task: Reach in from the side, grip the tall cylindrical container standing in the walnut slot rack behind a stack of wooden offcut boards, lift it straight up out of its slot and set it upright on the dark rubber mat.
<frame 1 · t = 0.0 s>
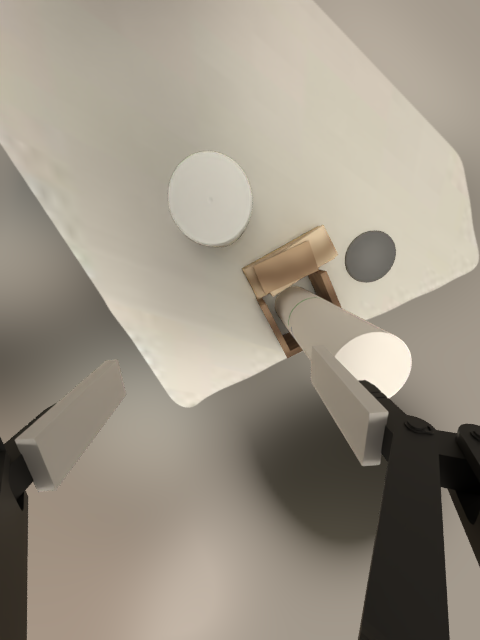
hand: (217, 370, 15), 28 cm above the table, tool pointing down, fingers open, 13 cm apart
cylindrical container: (292, 304, 43), resting in offcut rack
offcut rack: (297, 288, 42), on the table
supplement tub: (218, 218, 38), on the table
rubber mat: (369, 257, 41), on the table
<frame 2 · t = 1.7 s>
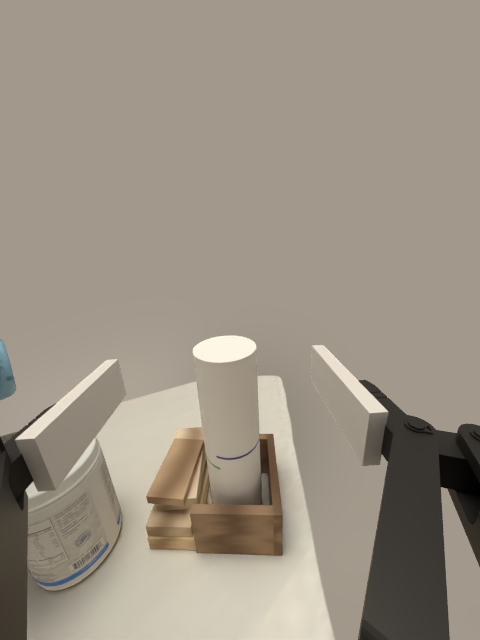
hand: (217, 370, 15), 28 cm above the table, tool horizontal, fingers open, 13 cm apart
cylindrical container: (237, 504, 33), resting in offcut rack
offcut rack: (222, 488, 35), on the table
supplement tub: (83, 543, 29), on the table
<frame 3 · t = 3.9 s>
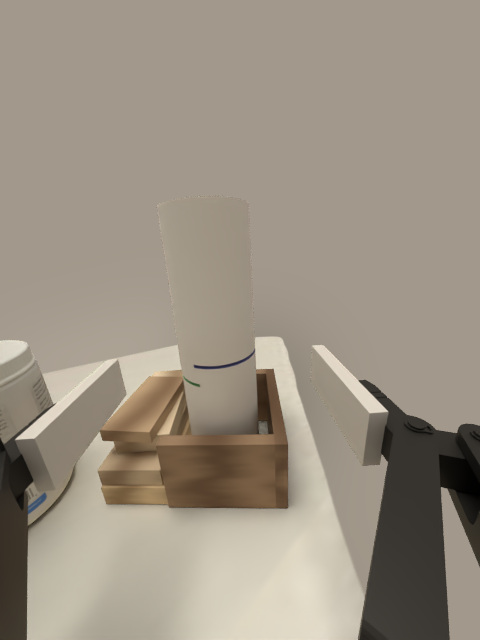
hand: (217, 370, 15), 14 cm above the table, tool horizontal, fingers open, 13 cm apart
cylindrical container: (227, 453, 25), resting in offcut rack
offcut rack: (209, 437, 27), on the table
supplement tub: (17, 499, 22), on the table
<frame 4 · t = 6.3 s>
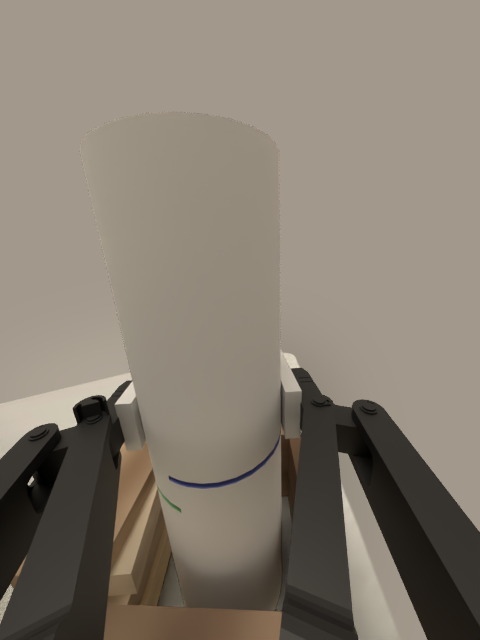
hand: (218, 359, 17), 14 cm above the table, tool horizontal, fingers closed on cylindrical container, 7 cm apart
cylindrical container: (232, 566, 16), resting in offcut rack, touching gripper
offcut rack: (203, 530, 18), on the table
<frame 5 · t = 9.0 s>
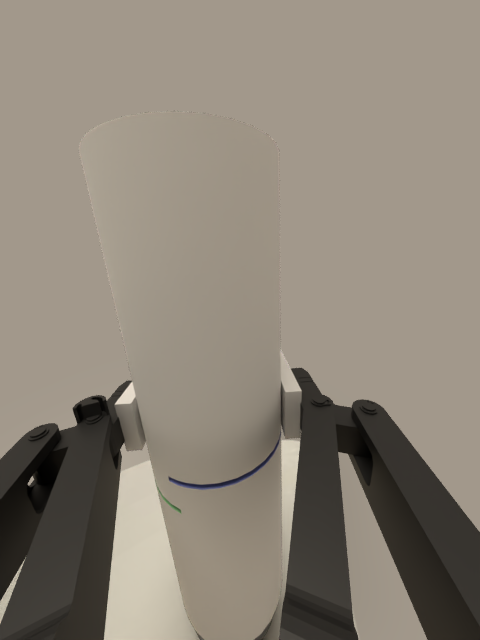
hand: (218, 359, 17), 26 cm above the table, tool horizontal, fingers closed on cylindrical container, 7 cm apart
cylindrical container: (232, 566, 16), point 11 cm above the table, touching gripper
when the fingers open (16 cm above the table, at t = 11.7 s): cylindrical container drops 1 cm, resting on rubber mat.
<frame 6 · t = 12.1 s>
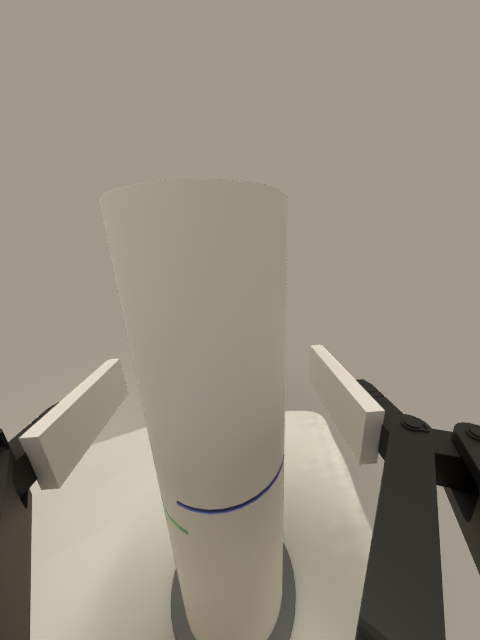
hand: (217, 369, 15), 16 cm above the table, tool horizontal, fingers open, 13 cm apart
cylindrical container: (233, 579, 17), resting on rubber mat
rubber mat: (233, 580, 17), on the table
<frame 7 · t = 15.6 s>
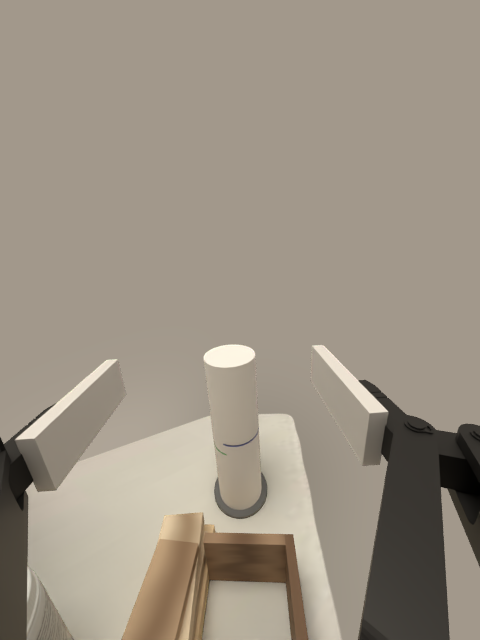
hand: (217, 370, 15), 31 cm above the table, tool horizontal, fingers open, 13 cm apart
cylindrical container: (240, 487, 38), resting on rubber mat
offcut rack: (224, 614, 25), on the table
rubber mat: (240, 488, 39), on the table
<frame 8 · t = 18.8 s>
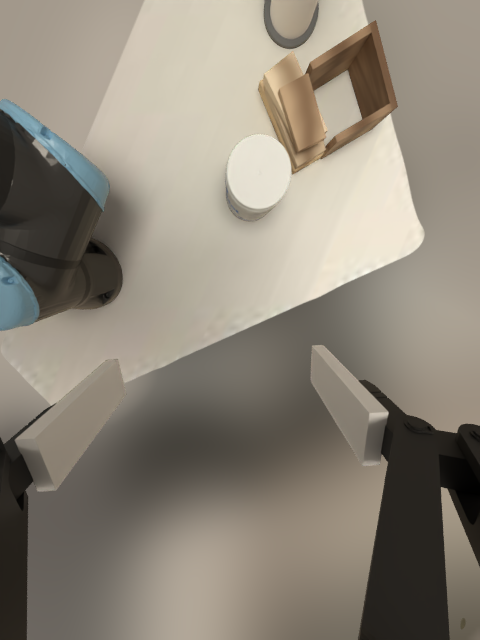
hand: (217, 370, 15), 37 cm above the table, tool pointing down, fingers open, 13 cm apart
cylindrical container: (291, 11, 37), resting on rubber mat
offcut rack: (316, 109, 41), on the table
supplement tub: (250, 196, 45), on the table
rubber mat: (290, 13, 37), on the table
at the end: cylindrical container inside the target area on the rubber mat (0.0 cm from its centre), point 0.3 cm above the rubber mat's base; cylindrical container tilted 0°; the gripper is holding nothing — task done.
